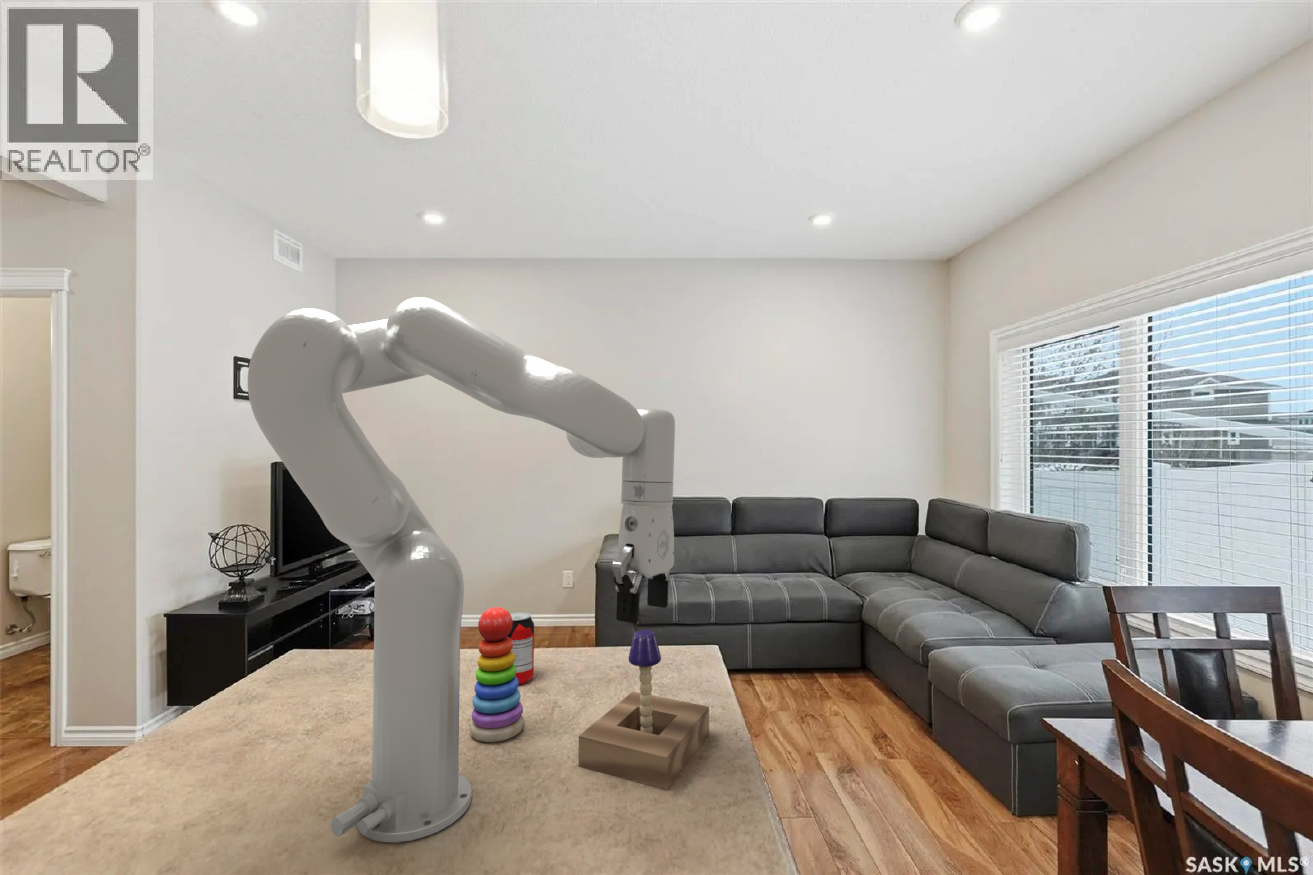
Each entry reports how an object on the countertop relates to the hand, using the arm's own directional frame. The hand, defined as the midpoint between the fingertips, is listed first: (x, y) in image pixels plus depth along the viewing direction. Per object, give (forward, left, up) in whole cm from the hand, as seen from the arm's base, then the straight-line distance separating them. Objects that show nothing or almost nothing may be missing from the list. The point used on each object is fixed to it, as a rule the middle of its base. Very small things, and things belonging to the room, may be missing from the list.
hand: (643, 613), depth 81 cm
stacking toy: (-4, +23, -20) cm, 30 cm away
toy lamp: (0, 0, -20) cm, 20 cm away
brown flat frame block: (+1, 0, -19) cm, 19 cm away
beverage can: (+13, +33, -20) cm, 40 cm away
